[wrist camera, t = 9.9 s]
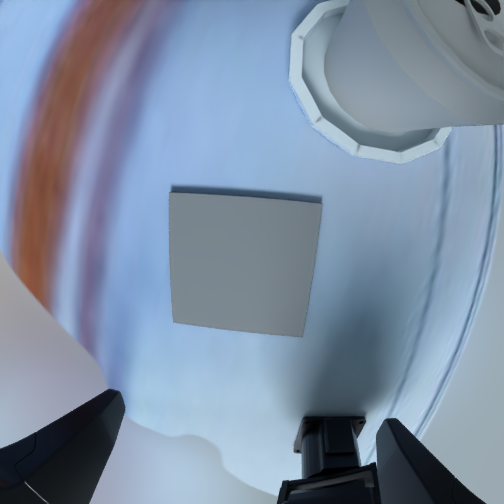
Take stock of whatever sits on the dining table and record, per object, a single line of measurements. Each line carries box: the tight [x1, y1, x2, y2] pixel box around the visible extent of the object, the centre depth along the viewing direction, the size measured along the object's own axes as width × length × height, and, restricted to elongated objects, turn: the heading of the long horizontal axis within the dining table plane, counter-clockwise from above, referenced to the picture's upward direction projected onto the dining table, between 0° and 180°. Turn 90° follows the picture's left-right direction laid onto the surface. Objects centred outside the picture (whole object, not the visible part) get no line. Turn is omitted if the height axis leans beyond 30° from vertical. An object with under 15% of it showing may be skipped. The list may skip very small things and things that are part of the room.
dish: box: [289, 0, 453, 164], centre depth 15 cm, size 11×11×2 cm
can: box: [324, 0, 504, 133], centre depth 9 cm, size 8×8×12 cm
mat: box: [169, 192, 322, 337], centre depth 21 cm, size 10×10×1 cm
